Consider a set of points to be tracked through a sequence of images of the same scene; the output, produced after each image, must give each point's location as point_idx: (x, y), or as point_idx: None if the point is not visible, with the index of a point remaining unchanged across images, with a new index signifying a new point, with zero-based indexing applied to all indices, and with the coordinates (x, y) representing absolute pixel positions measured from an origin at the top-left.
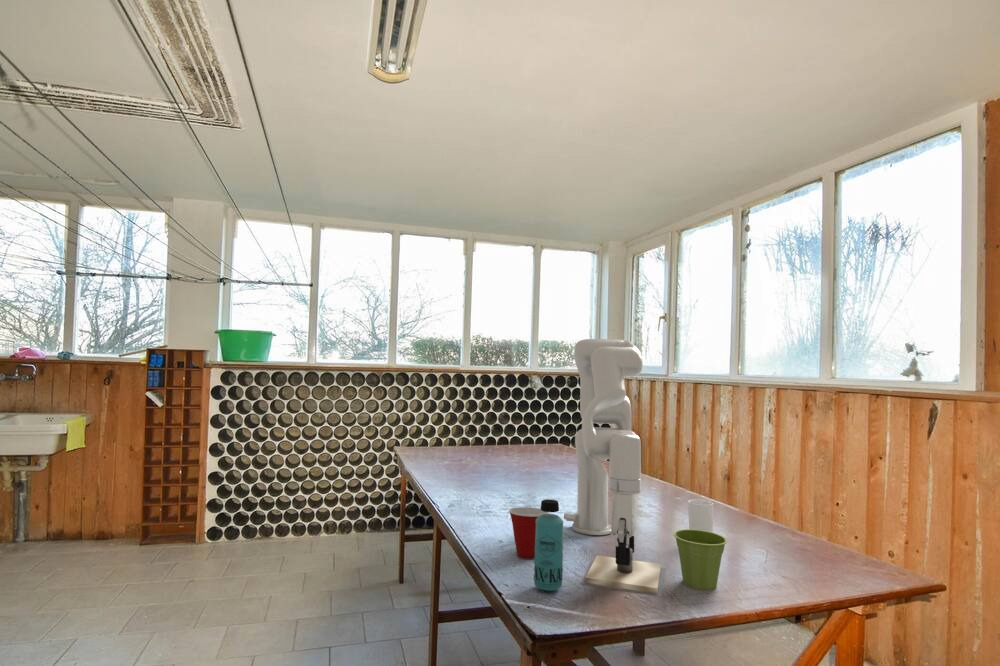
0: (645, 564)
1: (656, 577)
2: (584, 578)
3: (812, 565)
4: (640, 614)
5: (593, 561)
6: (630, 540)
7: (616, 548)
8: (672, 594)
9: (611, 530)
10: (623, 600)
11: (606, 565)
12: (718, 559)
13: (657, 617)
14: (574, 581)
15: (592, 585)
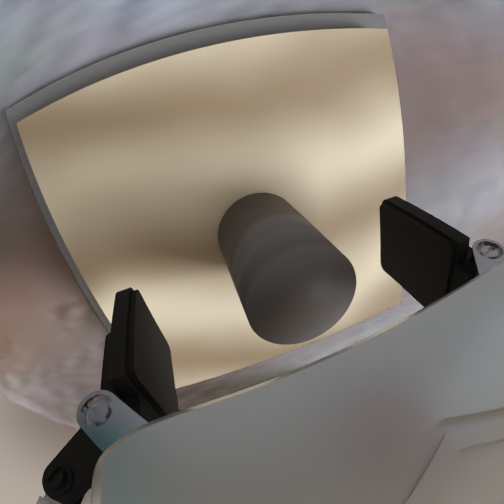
0: (379, 266)
1: (260, 354)
2: (72, 81)
3: None
4: (15, 376)
5: (346, 19)
6: (426, 290)
7: (112, 369)
8: (208, 388)
9: (95, 495)
10: (35, 315)
11: (272, 118)
12: None
13: (42, 404)
14: (40, 53)
15: (24, 166)
